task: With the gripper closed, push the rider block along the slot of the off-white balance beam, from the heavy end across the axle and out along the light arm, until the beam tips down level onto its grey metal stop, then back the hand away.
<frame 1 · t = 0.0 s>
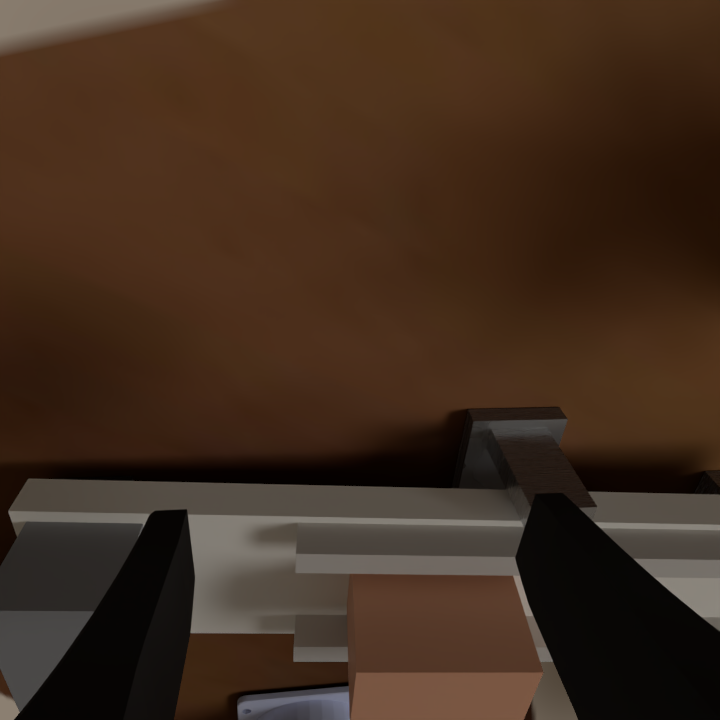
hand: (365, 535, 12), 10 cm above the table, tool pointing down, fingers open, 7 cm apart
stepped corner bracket: (489, 503, 27), on the table
rider: (424, 581, 23), point 4 cm above the table, tilted 5°, touching beam
beam: (464, 602, 22), point 5 cm above the table, hinge at -5.0°, touching rider
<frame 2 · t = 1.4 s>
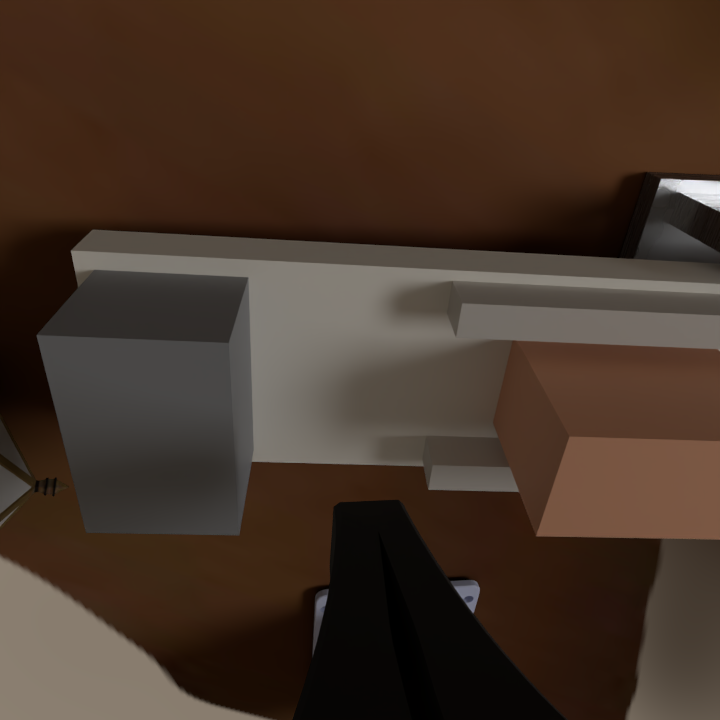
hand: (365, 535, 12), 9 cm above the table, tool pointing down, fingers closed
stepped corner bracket: (647, 323, 22), on the table
rider: (598, 384, 18), point 4 cm above the table, tilted 5°, touching beam
beam: (657, 404, 17), point 5 cm above the table, hinge at -5.0°, touching rider
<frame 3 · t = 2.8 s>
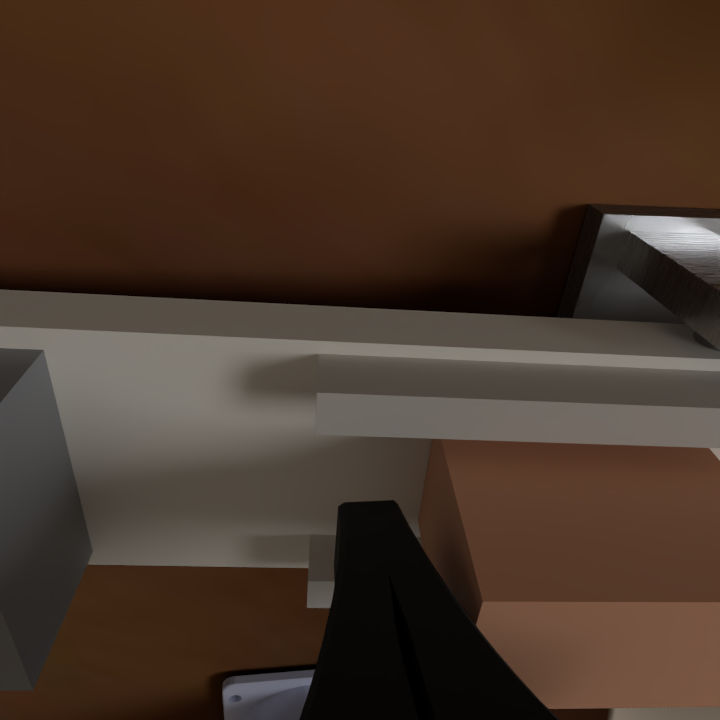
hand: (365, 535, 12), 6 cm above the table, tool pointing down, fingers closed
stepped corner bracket: (598, 382, 18), on the table
rider: (548, 475, 14), point 4 cm above the table, touching beam, gripper
beam: (595, 506, 13), point 5 cm above the table, hinge at -5.0°, touching rider
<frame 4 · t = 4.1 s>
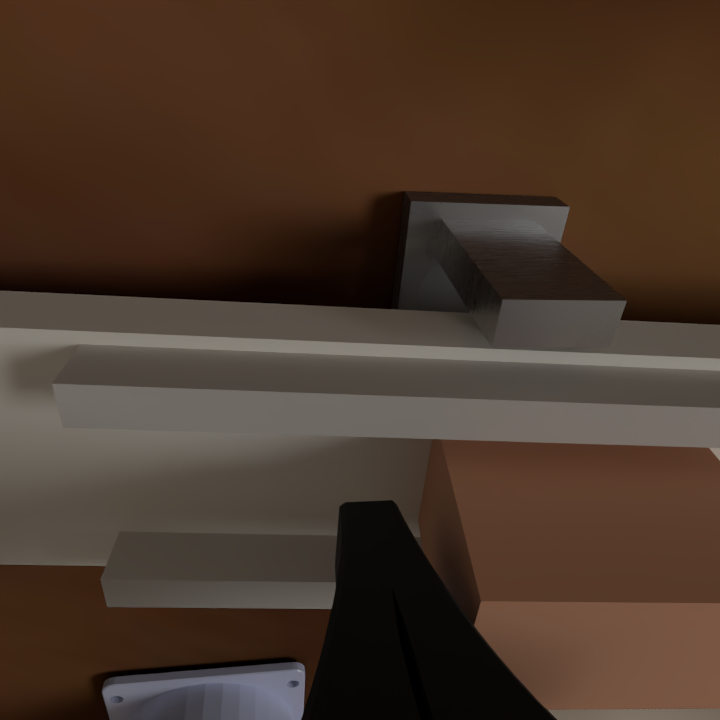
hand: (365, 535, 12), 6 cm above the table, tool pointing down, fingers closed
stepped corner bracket: (448, 375, 18), on the table
rider: (549, 476, 14), point 4 cm above the table, tilted 5°, touching beam, gripper
beam: (391, 501, 13), point 5 cm above the table, hinge at -5.0°, touching rider
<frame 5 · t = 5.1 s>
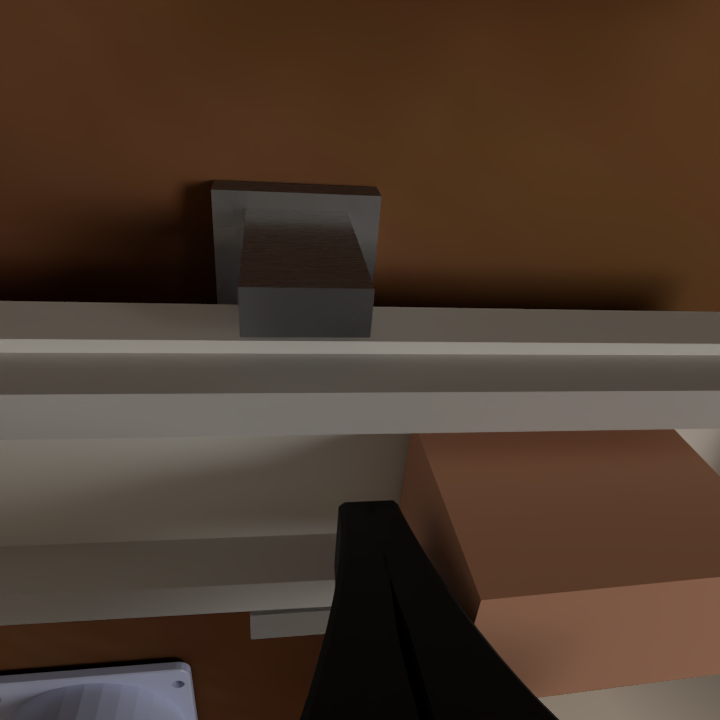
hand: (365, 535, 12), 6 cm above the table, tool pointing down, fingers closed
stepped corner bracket: (293, 370, 17), on the table
rider: (523, 466, 14), point 4 cm above the table, touching gripper
beam: (183, 503, 12), point 5 cm above the table, hinge at -0.6°
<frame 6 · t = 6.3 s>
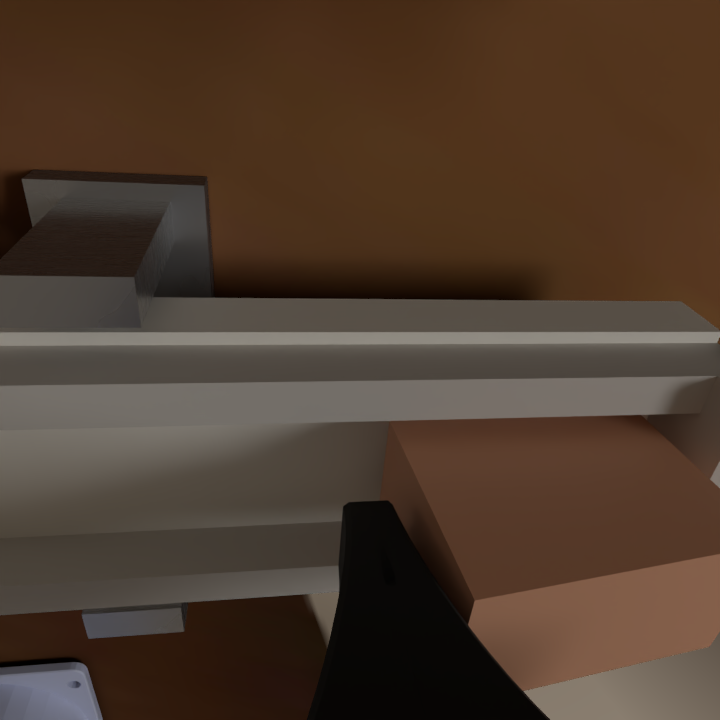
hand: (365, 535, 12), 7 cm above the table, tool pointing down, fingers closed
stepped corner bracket: (148, 365, 17), on the table
rider: (498, 460, 14), point 5 cm above the table, tilted 7°, touching beam, gripper
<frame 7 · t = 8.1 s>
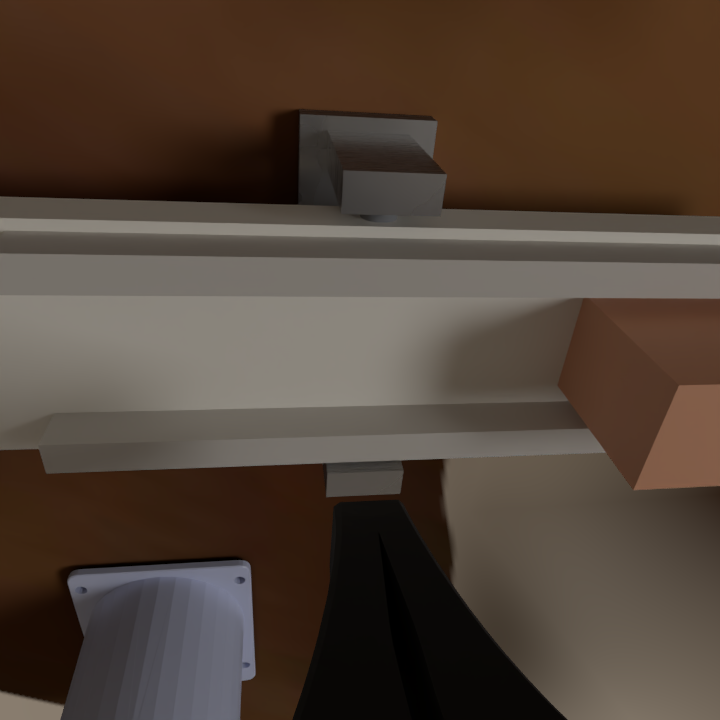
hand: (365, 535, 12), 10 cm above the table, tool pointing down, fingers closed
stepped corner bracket: (354, 281, 20), on the table
rider: (661, 340, 18), point 4 cm above the table, touching beam
beam: (285, 363, 16), point 5 cm above the table, hinge at 0.2°, touching rider
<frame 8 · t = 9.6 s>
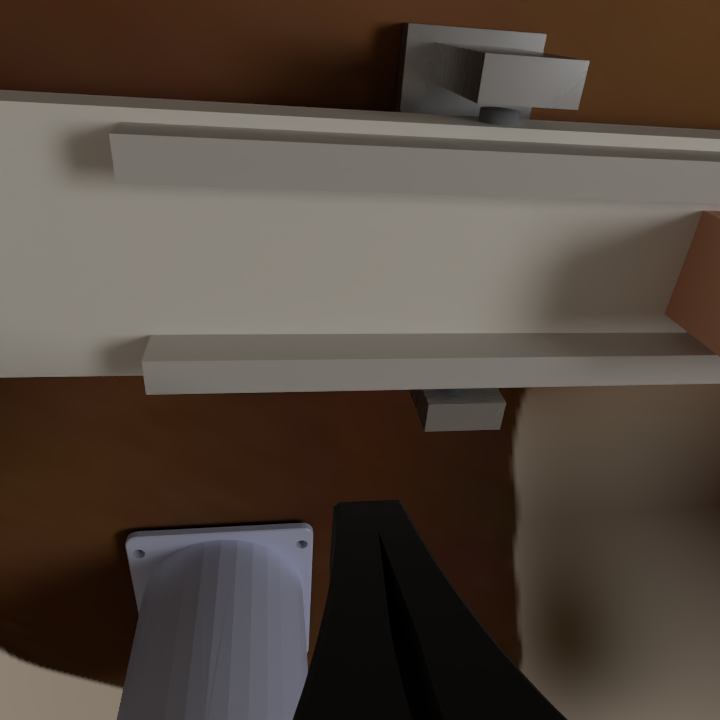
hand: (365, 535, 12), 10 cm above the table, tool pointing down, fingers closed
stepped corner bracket: (443, 215, 20), on the table
beam: (401, 275, 15), point 5 cm above the table, hinge at 0.2°, touching rider
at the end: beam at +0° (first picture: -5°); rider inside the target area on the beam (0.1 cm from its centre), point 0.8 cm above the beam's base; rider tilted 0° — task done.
